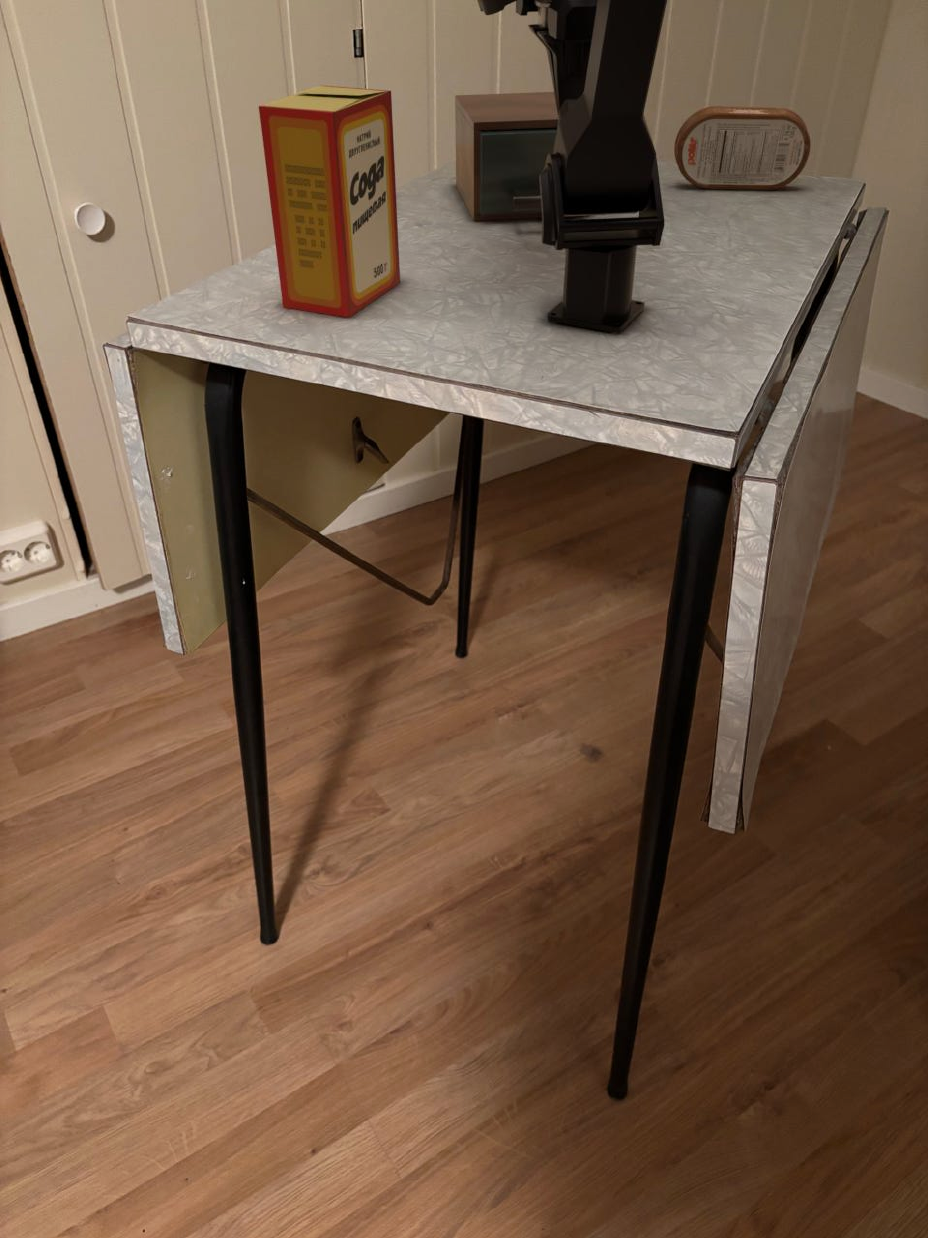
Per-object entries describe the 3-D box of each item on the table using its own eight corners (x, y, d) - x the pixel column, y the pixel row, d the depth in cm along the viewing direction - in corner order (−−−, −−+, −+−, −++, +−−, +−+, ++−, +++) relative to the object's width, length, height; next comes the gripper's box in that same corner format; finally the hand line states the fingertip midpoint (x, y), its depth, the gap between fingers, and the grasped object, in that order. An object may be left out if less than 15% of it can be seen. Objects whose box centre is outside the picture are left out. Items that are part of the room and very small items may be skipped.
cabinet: (589, 215, 106) (595, 117, 100) (473, 221, 104) (473, 122, 99) (560, 181, 117) (565, 91, 111) (456, 185, 116) (455, 95, 110)
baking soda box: (349, 317, 83) (331, 106, 73) (283, 306, 85) (257, 100, 75) (400, 282, 89) (390, 85, 80) (338, 273, 92) (321, 80, 82)
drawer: (596, 221, 101) (602, 138, 96) (486, 226, 100) (487, 143, 95) (560, 178, 115) (563, 104, 110) (463, 182, 114) (463, 107, 109)
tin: (800, 185, 115) (815, 105, 110) (804, 192, 112) (820, 111, 107) (669, 183, 116) (678, 103, 111) (671, 190, 113) (680, 109, 108)
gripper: (460, -99, 85) (462, 101, 95) (495, -90, 71) (493, 145, 80) (585, -101, 86) (574, 97, 96) (645, -93, 72) (625, 139, 81)
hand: (564, 118), depth 88 cm, fingers closed
